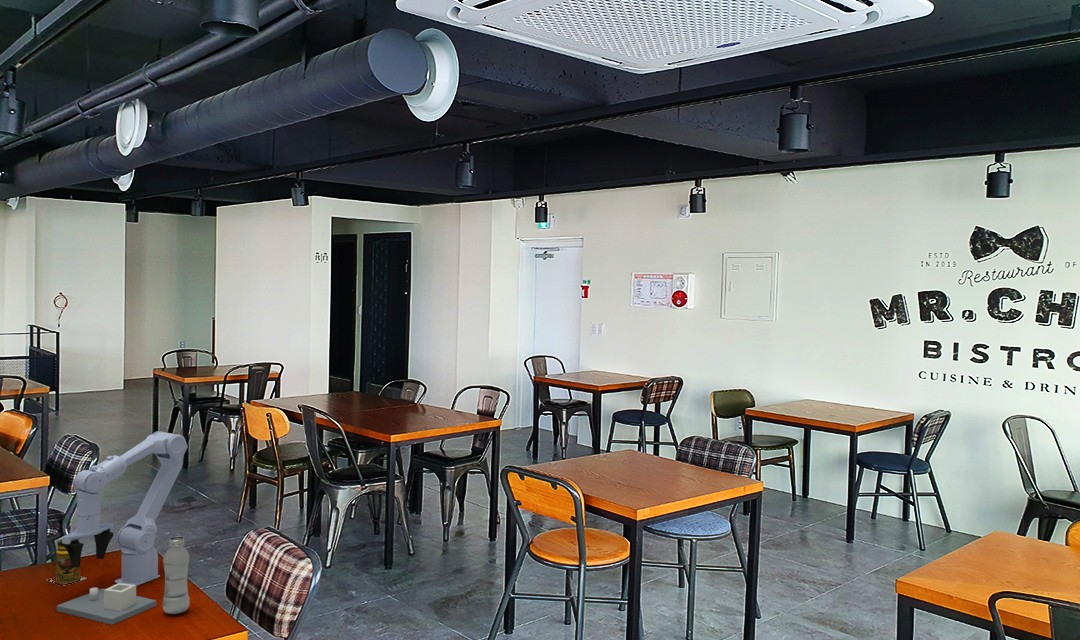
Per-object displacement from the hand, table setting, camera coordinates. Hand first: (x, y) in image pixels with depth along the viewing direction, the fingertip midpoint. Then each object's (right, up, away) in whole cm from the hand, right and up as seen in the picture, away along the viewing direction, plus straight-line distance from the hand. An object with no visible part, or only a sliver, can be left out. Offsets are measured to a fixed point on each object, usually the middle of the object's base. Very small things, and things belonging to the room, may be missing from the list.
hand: (88, 562), depth 228 cm
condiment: (-13, -9, +12) cm, 20 cm away
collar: (+14, -9, -10) cm, 19 cm away
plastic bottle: (+28, -11, -9) cm, 32 cm away
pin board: (+9, -10, -8) cm, 16 cm away
